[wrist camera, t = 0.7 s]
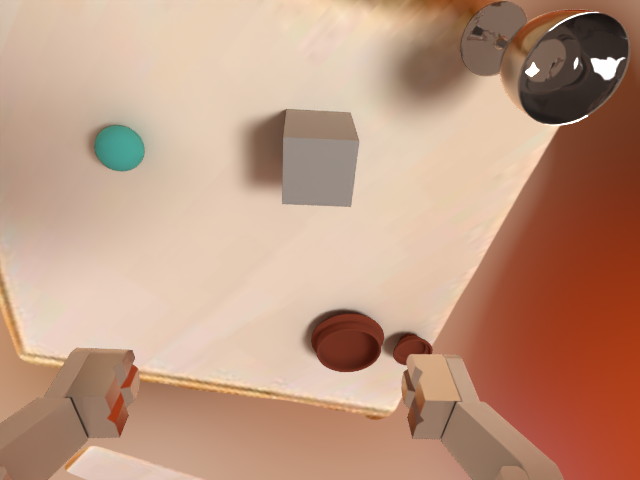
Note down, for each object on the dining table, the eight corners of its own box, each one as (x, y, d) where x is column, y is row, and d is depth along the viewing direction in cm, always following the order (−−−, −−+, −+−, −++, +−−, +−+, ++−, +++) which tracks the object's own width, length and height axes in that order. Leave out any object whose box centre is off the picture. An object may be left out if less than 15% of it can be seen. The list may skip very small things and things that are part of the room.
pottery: (319, 300, 63) (320, 320, 59) (439, 316, 66) (447, 337, 62) (305, 349, 69) (305, 371, 66) (414, 362, 72) (420, 384, 68)
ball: (100, 117, 45) (80, 133, 41) (146, 120, 46) (130, 136, 42) (110, 159, 48) (92, 177, 44) (153, 161, 49) (139, 179, 45)
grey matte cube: (286, 109, 46) (283, 136, 38) (350, 112, 46) (359, 140, 39) (285, 168, 50) (282, 204, 42) (344, 171, 50) (350, 206, 43)
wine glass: (466, 92, 45) (527, 141, 33) (448, 20, 41) (510, 45, 29) (539, 59, 43) (632, 98, 31) (527, -20, 39) (629, -11, 27)
